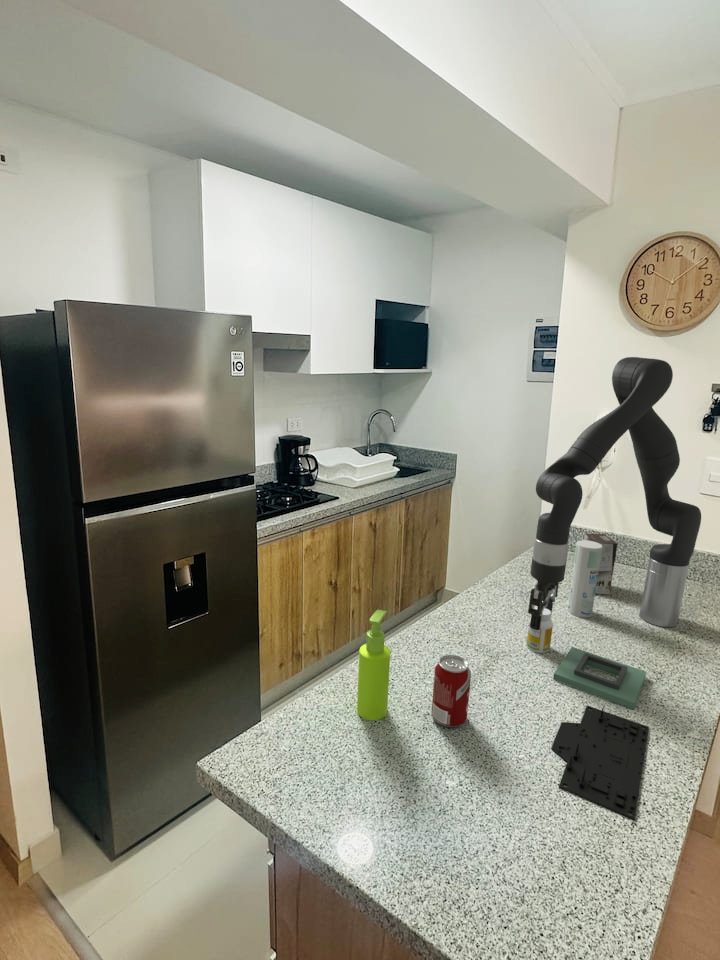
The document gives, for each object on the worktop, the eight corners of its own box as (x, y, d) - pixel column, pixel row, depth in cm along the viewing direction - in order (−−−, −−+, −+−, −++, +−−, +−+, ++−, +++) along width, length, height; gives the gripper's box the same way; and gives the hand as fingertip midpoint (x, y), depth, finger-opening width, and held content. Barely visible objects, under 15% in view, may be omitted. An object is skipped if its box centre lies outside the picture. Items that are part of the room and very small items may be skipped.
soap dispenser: (392, 702, 107) (397, 610, 103) (382, 723, 101) (387, 627, 96) (364, 695, 109) (368, 605, 104) (352, 716, 103) (356, 621, 98)
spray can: (584, 620, 144) (594, 550, 139) (562, 610, 149) (571, 542, 144) (596, 613, 148) (607, 545, 143) (574, 604, 153) (584, 538, 148)
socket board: (571, 652, 128) (572, 642, 127) (645, 677, 119) (647, 667, 118) (553, 679, 117) (554, 669, 116) (633, 709, 108) (635, 698, 107)
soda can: (445, 734, 99) (449, 677, 96) (424, 712, 104) (428, 657, 102) (473, 724, 102) (479, 668, 99) (452, 703, 108) (457, 649, 105)
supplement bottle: (546, 642, 132) (551, 606, 129) (552, 654, 127) (557, 617, 124) (524, 640, 132) (528, 604, 130) (528, 652, 127) (533, 615, 125)
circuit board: (634, 823, 82) (637, 806, 81) (539, 781, 89) (541, 766, 88) (648, 730, 102) (650, 716, 102) (570, 703, 110) (571, 690, 109)
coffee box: (610, 594, 160) (618, 543, 156) (589, 593, 160) (596, 542, 156) (598, 581, 169) (605, 533, 165) (577, 581, 169) (584, 532, 165)
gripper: (556, 571, 116) (547, 639, 120) (574, 554, 127) (565, 616, 131) (522, 562, 120) (514, 628, 124) (542, 546, 132) (534, 607, 135)
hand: (540, 622), depth 128 cm, fingers open, 8 cm apart
